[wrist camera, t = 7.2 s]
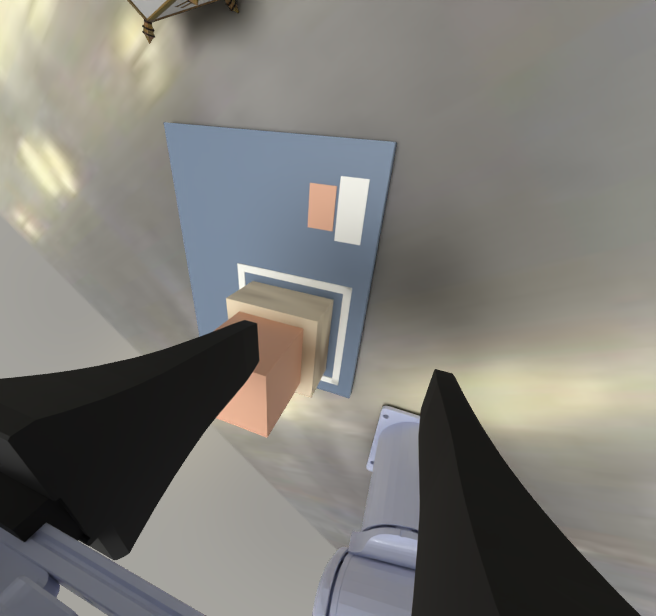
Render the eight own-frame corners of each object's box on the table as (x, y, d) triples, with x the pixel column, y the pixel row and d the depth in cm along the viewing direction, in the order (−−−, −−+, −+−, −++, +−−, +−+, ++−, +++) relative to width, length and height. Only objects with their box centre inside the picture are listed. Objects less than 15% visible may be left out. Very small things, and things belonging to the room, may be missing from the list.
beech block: (325, 369, 24) (311, 397, 21) (256, 348, 26) (233, 372, 23) (333, 299, 21) (317, 321, 18) (252, 281, 22) (225, 298, 19)
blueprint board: (351, 392, 25) (349, 399, 25) (207, 347, 29) (201, 352, 28) (396, 143, 16) (395, 141, 15) (172, 123, 20) (162, 122, 19)
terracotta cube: (300, 383, 21) (267, 437, 17) (243, 364, 22) (199, 411, 18) (303, 328, 18) (265, 376, 14) (239, 311, 20) (187, 350, 15)
